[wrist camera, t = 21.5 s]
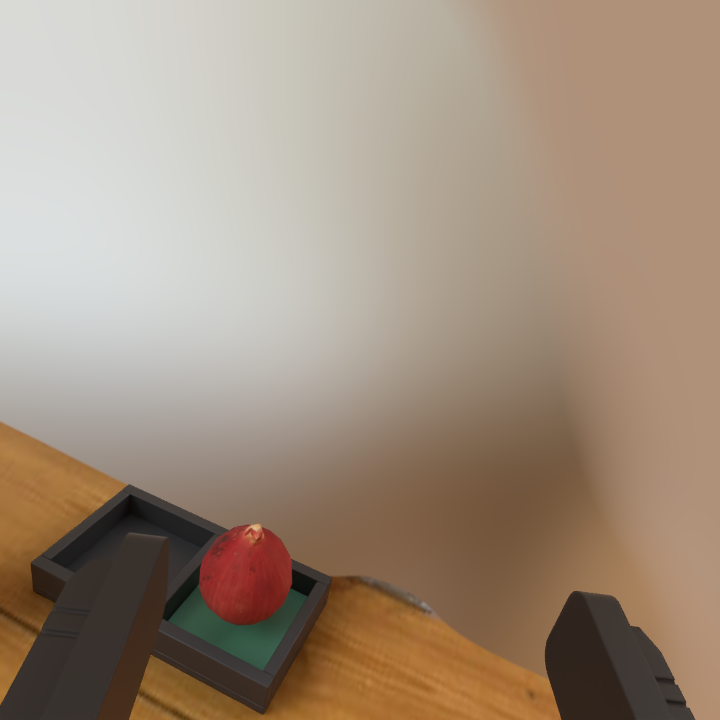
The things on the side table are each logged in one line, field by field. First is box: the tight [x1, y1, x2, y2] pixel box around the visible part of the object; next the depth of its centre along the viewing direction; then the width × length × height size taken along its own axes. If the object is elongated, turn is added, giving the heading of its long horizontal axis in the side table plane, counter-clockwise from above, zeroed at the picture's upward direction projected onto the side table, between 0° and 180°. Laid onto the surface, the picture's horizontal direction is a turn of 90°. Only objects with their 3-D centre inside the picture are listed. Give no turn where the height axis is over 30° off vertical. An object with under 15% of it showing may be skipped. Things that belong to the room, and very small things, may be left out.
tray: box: [31, 484, 332, 714], centre depth 40 cm, size 9×17×3 cm, turn 68°
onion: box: [199, 524, 292, 625], centre depth 38 cm, size 6×6×8 cm
